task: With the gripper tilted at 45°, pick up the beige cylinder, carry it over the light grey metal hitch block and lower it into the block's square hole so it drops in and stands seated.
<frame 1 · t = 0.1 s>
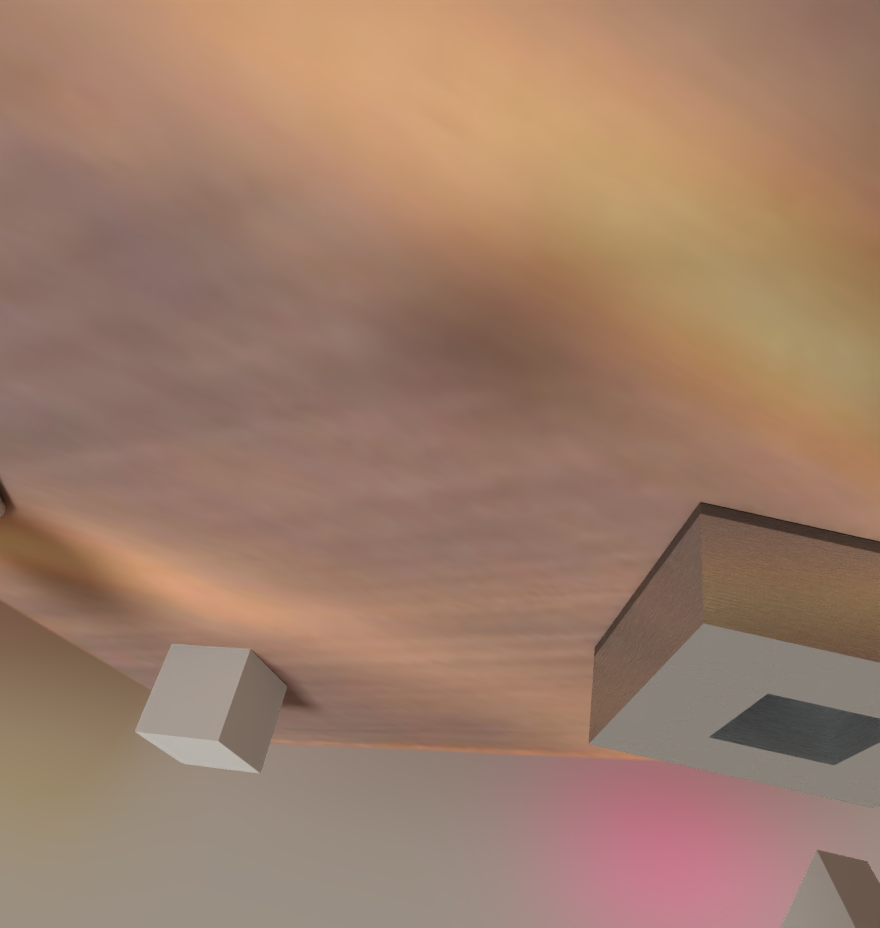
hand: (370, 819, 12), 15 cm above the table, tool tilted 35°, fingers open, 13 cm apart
grey cube: (232, 662, 53), on the table
hitch block: (791, 621, 34), on the table
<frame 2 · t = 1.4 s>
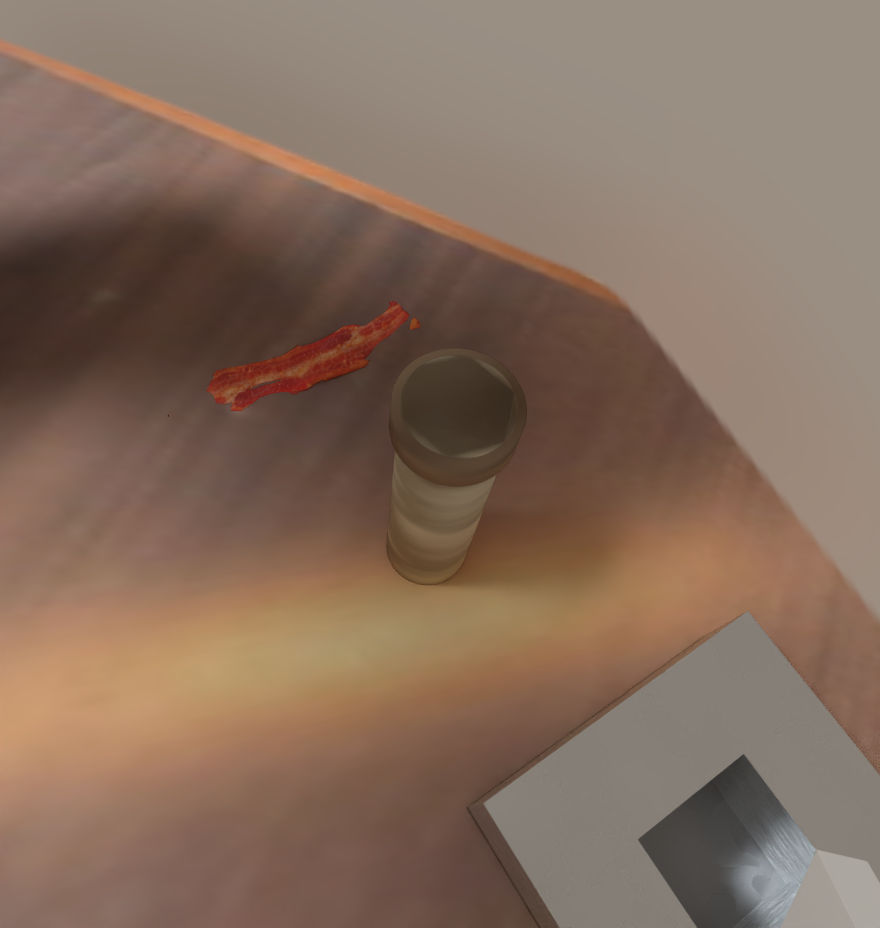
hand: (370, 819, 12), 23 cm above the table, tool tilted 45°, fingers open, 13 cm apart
beige cylinder: (426, 546, 38), on the table
bacon strip: (297, 370, 43), on the table
hitch block: (689, 860, 33), on the table
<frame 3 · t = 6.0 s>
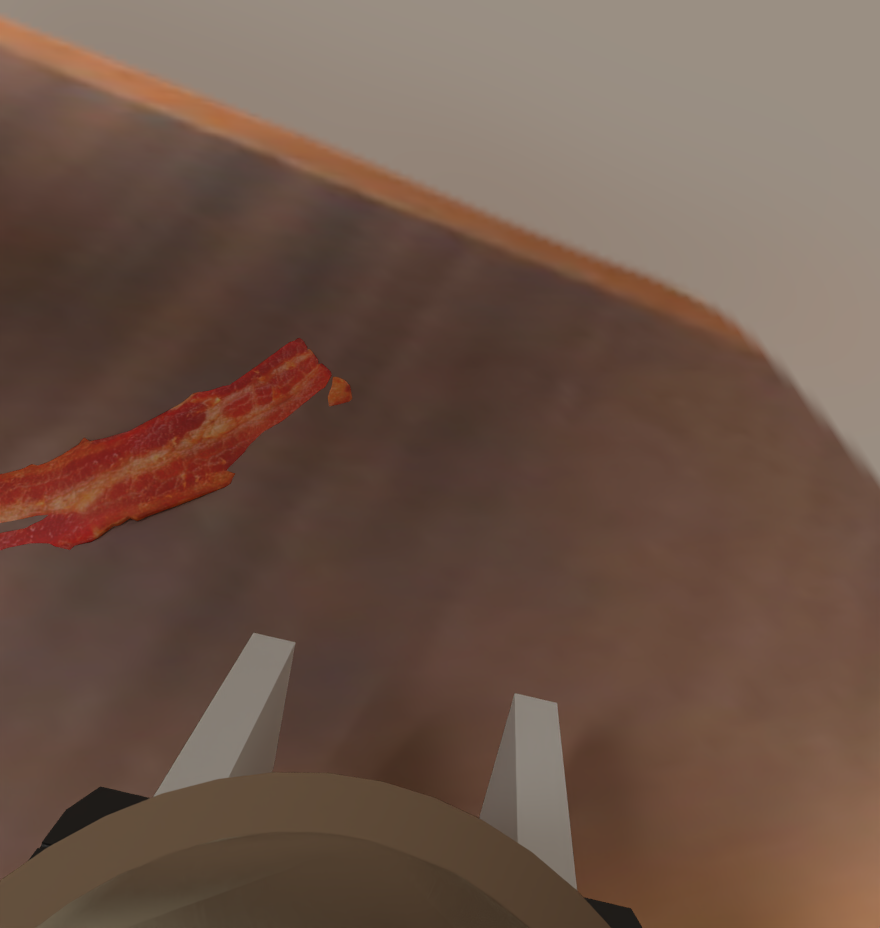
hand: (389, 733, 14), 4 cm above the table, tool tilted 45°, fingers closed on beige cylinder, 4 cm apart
bacon strip: (85, 492, 20), on the table
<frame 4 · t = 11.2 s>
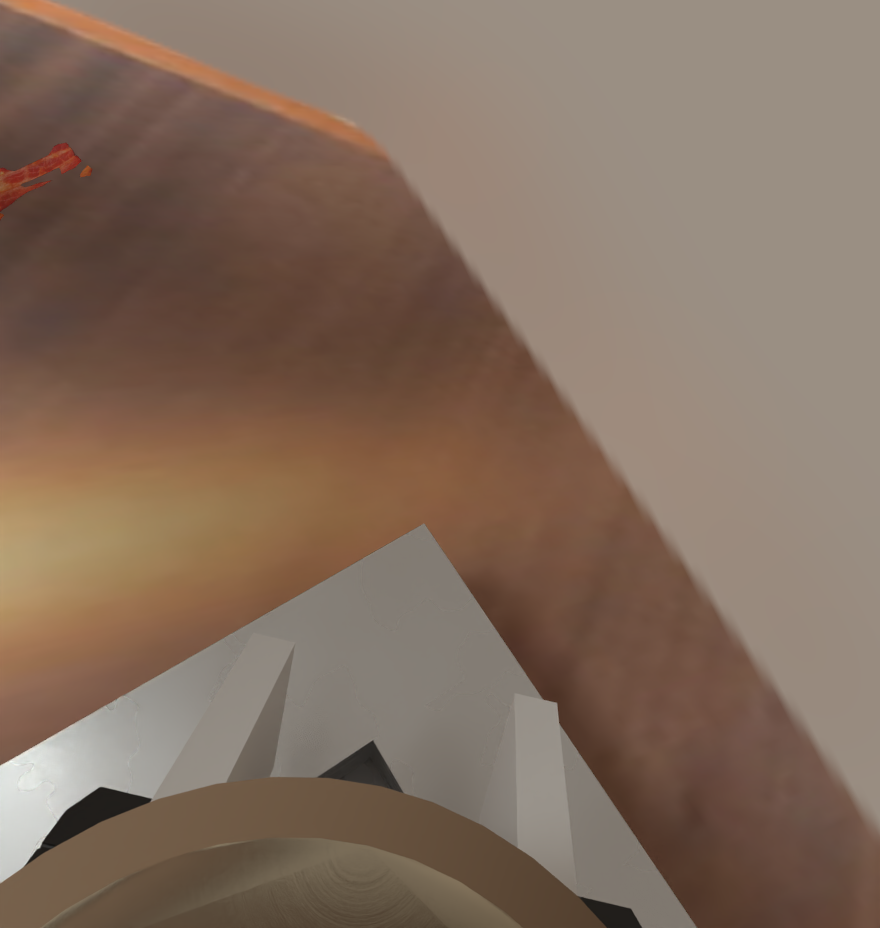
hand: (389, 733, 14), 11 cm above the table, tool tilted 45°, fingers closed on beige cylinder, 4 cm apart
hitch block: (336, 905, 22), on the table
when the fingers open (7 cm above the table, at t = 12.4 s): beige cylinder drops 2 cm, resting on hitch block.
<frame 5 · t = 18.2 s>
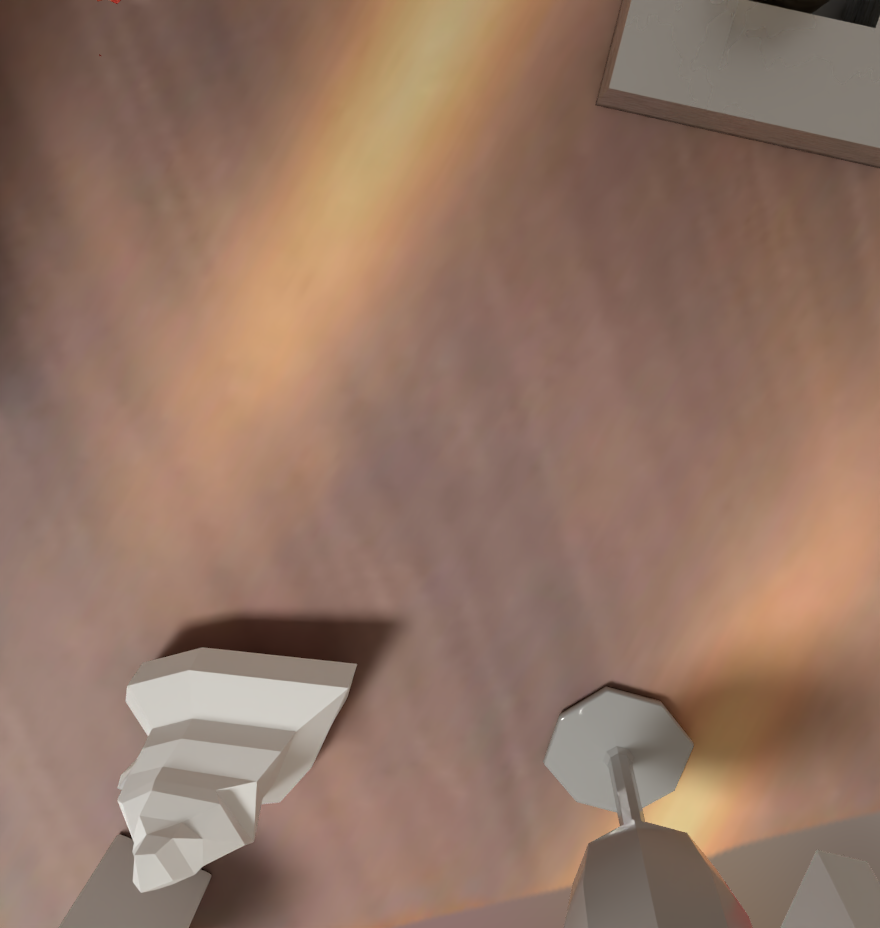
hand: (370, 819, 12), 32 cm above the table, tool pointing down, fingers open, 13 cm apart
soft serve ice cream: (252, 700, 49), on the table
wineglass: (615, 744, 48), on the table
milk carton: (151, 884, 55), on the table
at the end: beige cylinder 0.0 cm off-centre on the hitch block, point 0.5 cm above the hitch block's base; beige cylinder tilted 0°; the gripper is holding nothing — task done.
